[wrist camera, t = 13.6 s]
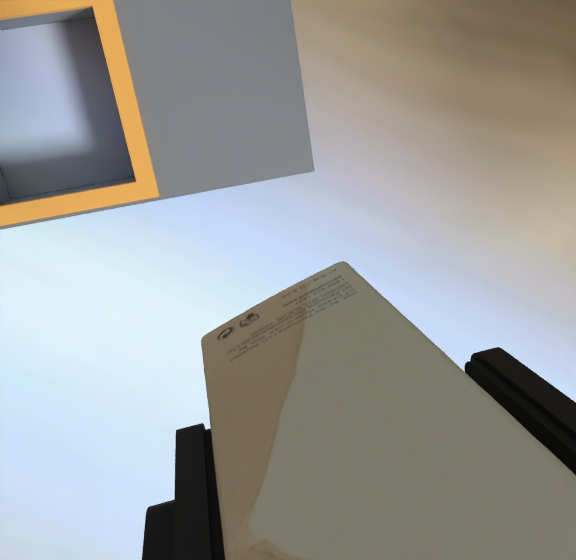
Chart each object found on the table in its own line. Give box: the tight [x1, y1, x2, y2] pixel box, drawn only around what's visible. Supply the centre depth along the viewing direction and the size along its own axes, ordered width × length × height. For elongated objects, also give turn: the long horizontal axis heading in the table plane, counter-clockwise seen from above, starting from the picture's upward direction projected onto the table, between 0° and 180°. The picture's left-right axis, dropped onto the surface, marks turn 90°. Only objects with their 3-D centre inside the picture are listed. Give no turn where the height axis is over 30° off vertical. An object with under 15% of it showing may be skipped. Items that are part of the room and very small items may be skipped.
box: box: [201, 261, 576, 560], centre depth 9 cm, size 5×4×11 cm
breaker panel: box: [0, 0, 314, 230], centre depth 22 cm, size 18×16×2 cm
